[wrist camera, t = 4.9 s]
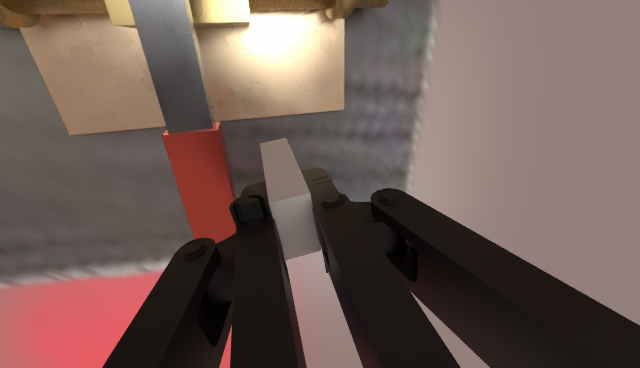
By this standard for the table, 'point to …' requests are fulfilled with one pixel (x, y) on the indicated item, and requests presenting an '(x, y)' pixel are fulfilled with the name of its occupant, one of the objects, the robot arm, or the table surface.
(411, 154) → the table surface
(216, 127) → the lever
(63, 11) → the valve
